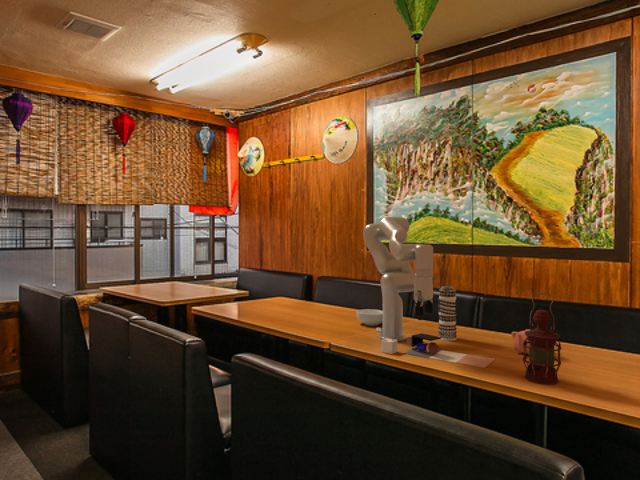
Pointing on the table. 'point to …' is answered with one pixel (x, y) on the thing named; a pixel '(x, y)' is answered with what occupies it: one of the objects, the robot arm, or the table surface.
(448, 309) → the decorative candle
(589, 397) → the table surface
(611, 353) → the table surface
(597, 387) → the table surface
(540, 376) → the lantern
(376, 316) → the cereal bowl
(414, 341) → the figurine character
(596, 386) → the table surface
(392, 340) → the die
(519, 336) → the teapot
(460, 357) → the game board
